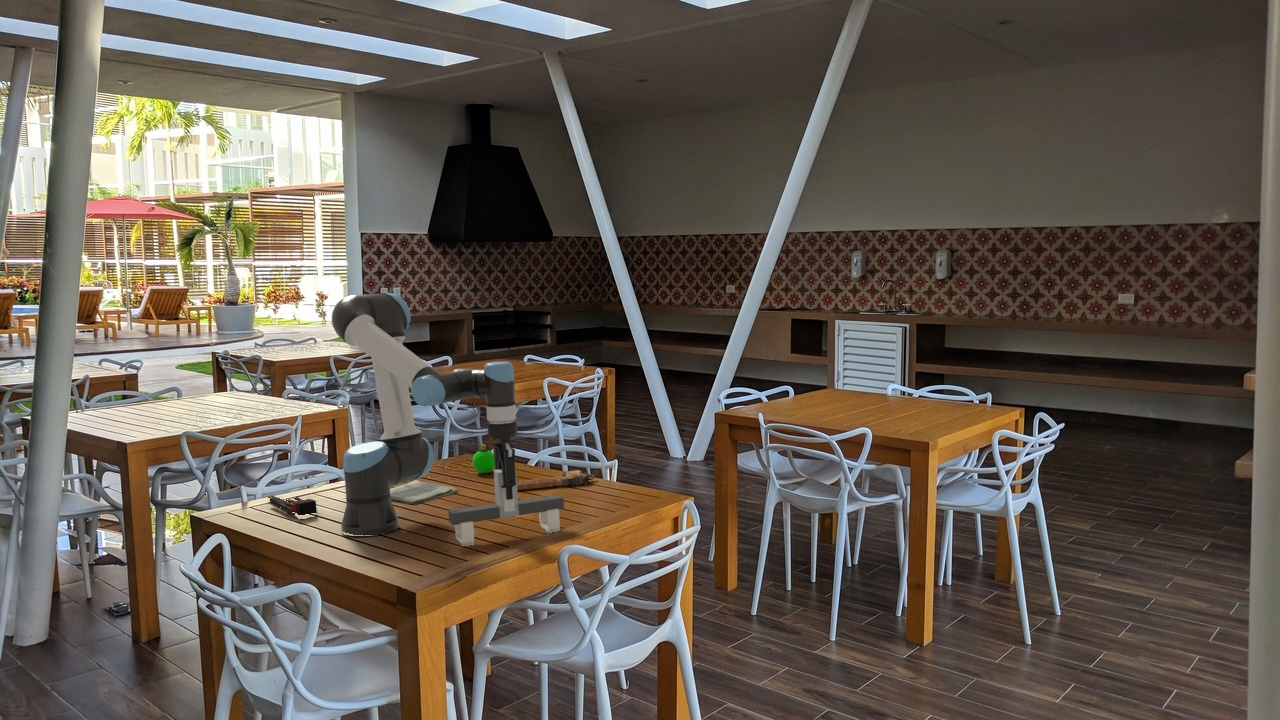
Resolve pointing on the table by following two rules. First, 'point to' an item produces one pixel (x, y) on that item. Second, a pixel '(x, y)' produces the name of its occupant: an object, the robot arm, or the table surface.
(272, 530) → the table surface
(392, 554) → the table surface
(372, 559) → the table surface
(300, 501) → the toy
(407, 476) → the robot arm
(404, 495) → the dish towel
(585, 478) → the decorative handgun
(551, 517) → the right clip
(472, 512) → the bar
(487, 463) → the ornament
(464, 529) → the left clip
